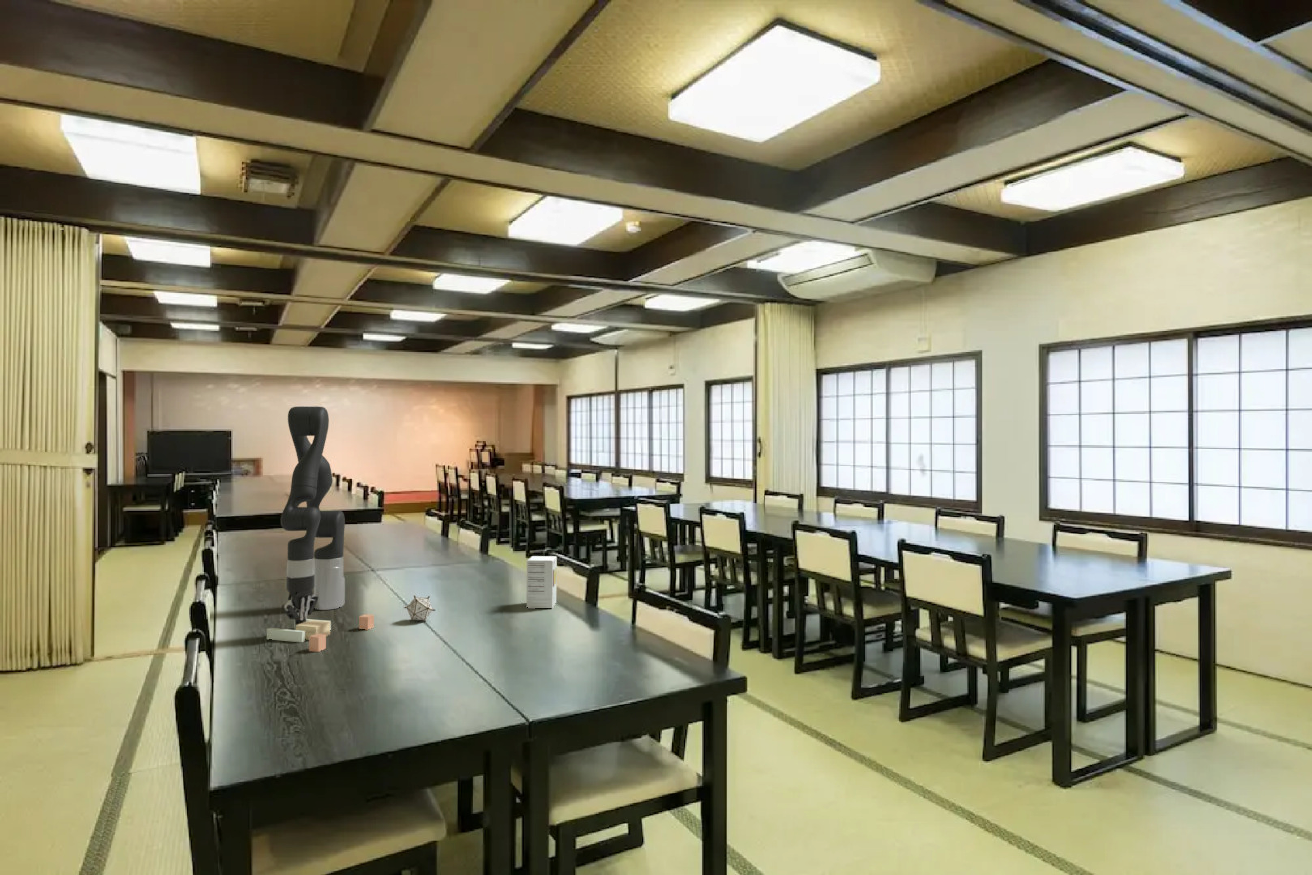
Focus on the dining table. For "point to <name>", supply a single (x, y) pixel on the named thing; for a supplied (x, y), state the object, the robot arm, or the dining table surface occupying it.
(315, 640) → the gate posts
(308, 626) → the maple block
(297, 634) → the white blocks
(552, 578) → the supplement box
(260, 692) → the dining table surface
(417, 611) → the game die
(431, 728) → the dining table surface
